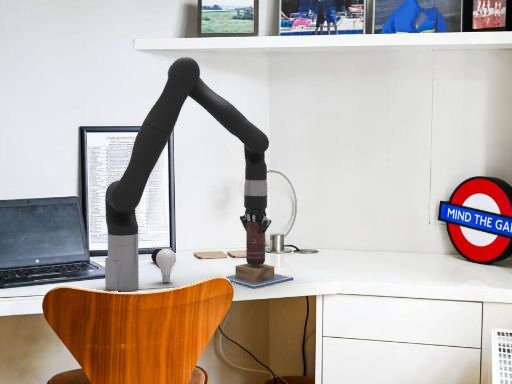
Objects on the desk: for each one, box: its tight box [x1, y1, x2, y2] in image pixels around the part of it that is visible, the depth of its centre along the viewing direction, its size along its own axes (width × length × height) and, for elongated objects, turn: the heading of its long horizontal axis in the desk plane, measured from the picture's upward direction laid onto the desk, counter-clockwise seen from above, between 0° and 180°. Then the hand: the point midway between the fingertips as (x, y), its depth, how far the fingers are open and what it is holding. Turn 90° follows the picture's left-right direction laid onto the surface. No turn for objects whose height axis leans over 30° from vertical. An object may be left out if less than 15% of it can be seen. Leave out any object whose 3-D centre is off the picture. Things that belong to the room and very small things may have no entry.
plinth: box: [234, 263, 275, 283], centre depth 219 cm, size 9×9×4 cm
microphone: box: [150, 248, 163, 264], centre depth 236 cm, size 6×6×20 cm
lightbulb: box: [156, 248, 177, 284], centre depth 214 cm, size 6×6×11 cm
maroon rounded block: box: [245, 221, 266, 265], centre depth 218 cm, size 6×6×14 cm
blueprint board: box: [224, 272, 294, 290], centre depth 220 cm, size 18×16×1 cm
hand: (255, 246), depth 218 cm, fingers closed
